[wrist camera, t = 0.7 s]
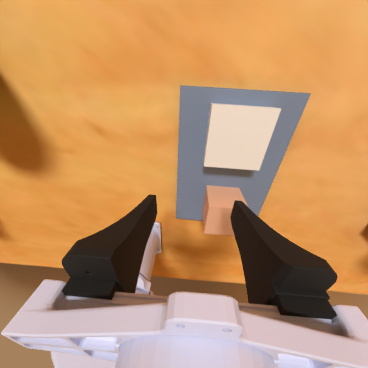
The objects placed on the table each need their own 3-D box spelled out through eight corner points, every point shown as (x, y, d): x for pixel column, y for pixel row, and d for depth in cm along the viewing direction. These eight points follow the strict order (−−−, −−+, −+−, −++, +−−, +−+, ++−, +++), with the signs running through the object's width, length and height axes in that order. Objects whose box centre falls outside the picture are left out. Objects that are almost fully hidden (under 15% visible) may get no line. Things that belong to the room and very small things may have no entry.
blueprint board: (252, 221, 27) (258, 234, 24) (176, 215, 27) (174, 226, 25) (306, 93, 16) (324, 93, 14) (181, 85, 17) (178, 84, 14)
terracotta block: (231, 212, 25) (239, 236, 21) (202, 209, 25) (204, 233, 21) (239, 187, 22) (249, 209, 18) (206, 185, 22) (209, 206, 18)
